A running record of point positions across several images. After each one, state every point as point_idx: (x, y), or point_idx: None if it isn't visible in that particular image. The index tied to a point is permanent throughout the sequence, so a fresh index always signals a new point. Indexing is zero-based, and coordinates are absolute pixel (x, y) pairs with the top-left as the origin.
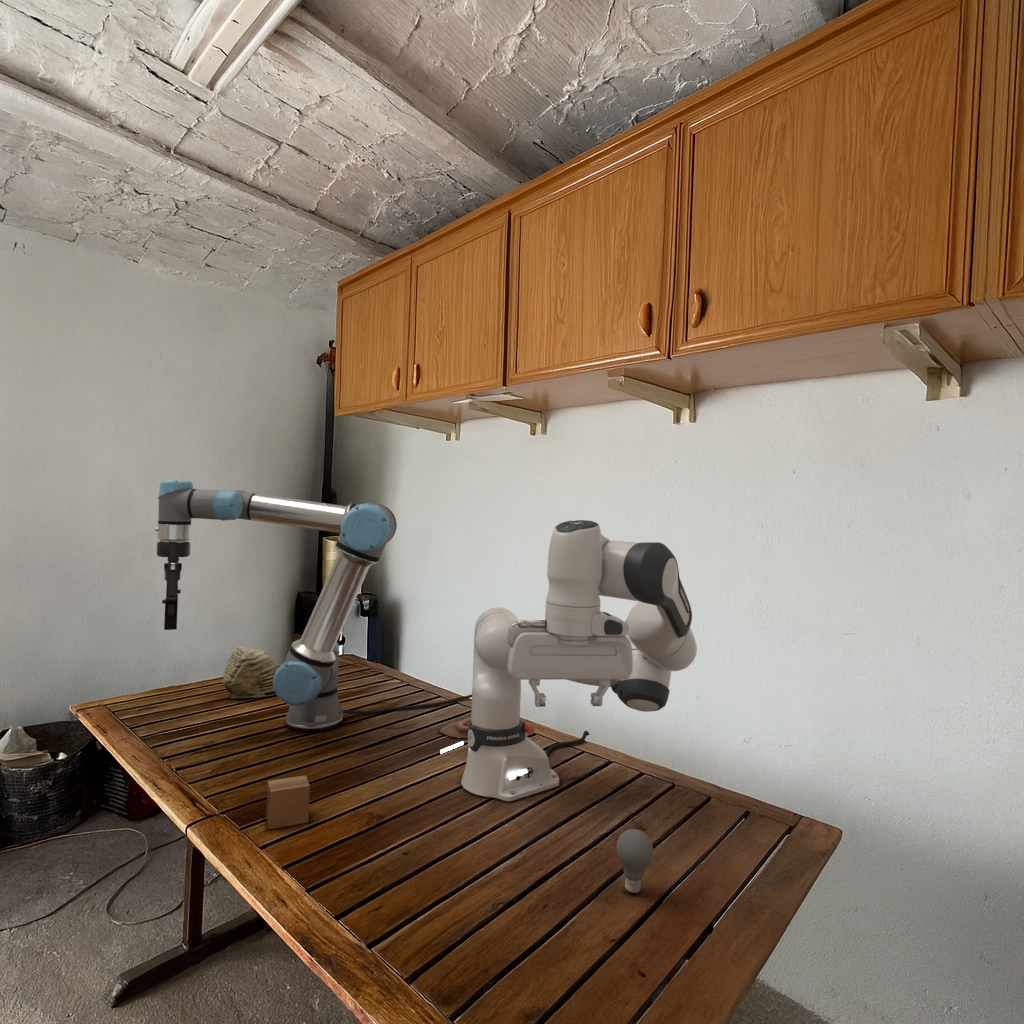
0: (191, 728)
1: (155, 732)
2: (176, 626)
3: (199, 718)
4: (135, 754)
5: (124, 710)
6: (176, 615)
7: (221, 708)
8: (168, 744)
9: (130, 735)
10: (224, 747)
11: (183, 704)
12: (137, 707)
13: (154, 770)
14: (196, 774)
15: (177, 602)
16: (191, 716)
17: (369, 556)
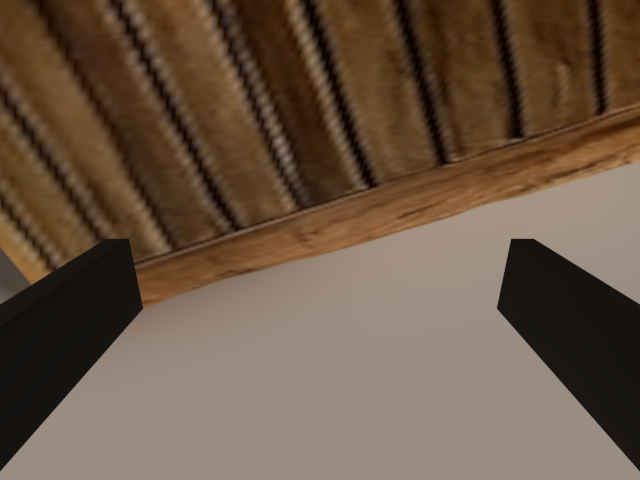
0: (278, 103)
1: (280, 181)
2: (544, 248)
3: (206, 82)
4: (397, 213)
5: None
6: (609, 293)
7: (130, 16)
8: (367, 154)
9: (282, 227)
10: (442, 27)
11: (80, 121)
12: (92, 224)
13: (499, 177)
14: (566, 98)
15: (29, 310)
16: (185, 102)
17: None
